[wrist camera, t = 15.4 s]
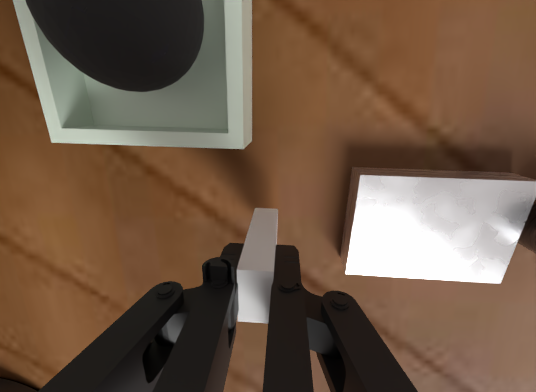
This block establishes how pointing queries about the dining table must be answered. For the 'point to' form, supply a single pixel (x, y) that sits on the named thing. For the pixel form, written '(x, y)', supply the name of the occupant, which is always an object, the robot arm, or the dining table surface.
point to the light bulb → (124, 38)
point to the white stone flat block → (434, 223)
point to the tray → (158, 101)
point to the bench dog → (529, 231)
